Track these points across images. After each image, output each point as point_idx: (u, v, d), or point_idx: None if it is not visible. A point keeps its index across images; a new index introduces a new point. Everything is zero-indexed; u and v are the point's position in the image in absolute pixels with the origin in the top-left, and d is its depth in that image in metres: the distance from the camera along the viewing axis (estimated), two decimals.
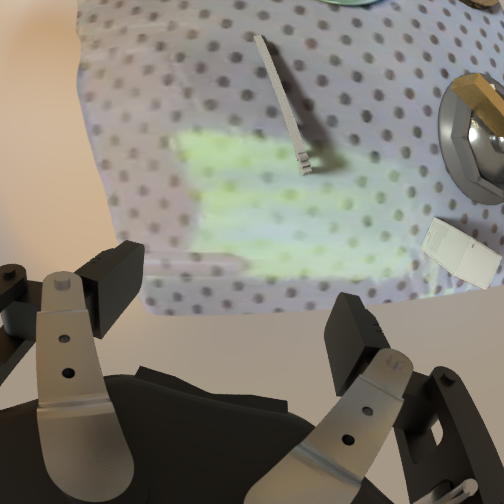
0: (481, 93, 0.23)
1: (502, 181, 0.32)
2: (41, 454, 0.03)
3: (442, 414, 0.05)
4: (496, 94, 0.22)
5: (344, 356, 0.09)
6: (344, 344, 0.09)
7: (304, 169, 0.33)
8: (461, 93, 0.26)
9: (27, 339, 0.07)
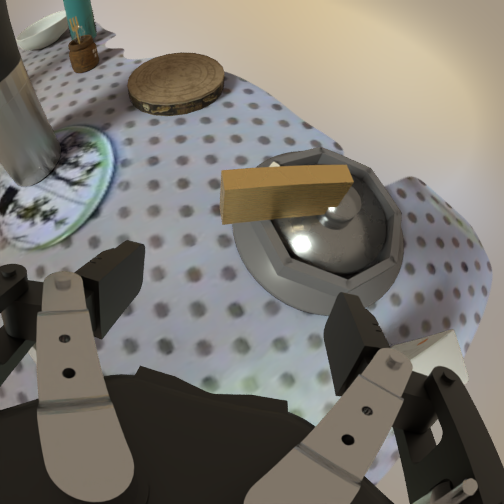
0: (246, 192, 0.24)
1: (378, 249, 0.31)
2: (41, 454, 0.03)
3: (442, 414, 0.05)
4: (265, 170, 0.24)
5: (343, 356, 0.09)
6: (343, 344, 0.09)
7: None
8: (235, 216, 0.27)
9: (28, 339, 0.07)
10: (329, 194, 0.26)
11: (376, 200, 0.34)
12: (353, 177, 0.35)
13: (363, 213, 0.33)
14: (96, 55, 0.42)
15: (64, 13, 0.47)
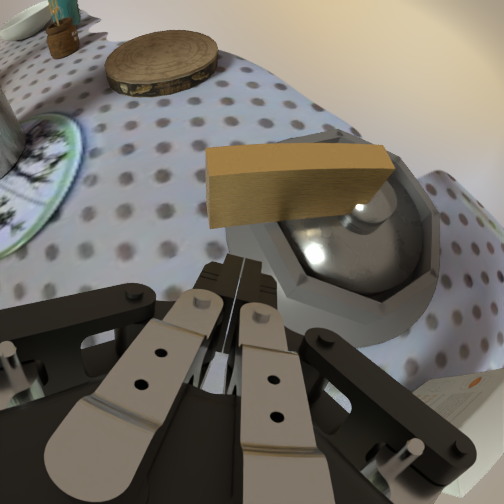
0: (242, 179, 0.15)
1: (415, 259, 0.23)
2: (41, 454, 0.03)
3: (340, 383, 0.06)
4: (272, 147, 0.16)
5: (232, 314, 0.10)
6: None
7: None
8: (228, 217, 0.19)
9: None
10: (361, 186, 0.18)
11: (408, 197, 0.26)
12: None
13: (395, 213, 0.24)
14: (76, 39, 0.34)
15: None
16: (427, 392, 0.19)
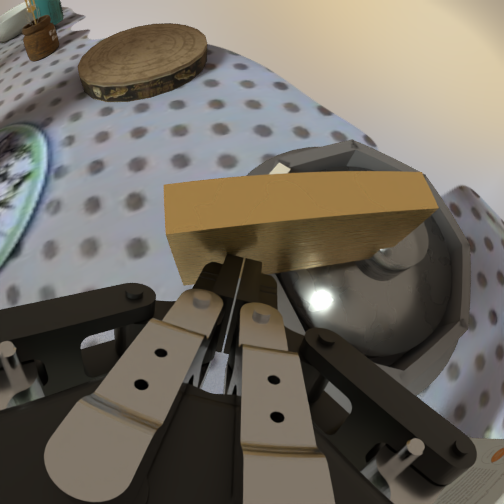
0: (219, 235, 0.10)
1: (443, 307, 0.18)
2: (41, 454, 0.03)
3: (340, 383, 0.06)
4: (265, 181, 0.11)
5: None
6: None
7: None
8: None
9: None
10: (390, 230, 0.13)
11: (436, 226, 0.20)
12: None
13: None
14: (54, 38, 0.29)
15: None
16: None
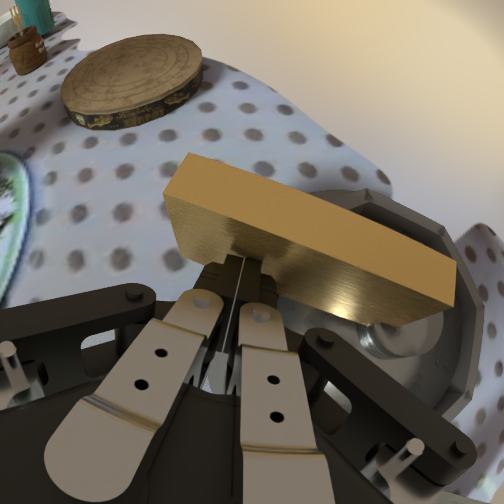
0: (209, 218, 0.10)
1: None
2: (41, 454, 0.03)
3: (340, 383, 0.06)
4: (279, 190, 0.10)
5: None
6: (234, 303, 0.10)
7: None
8: (200, 254, 0.14)
9: None
10: (393, 305, 0.11)
11: (460, 333, 0.17)
12: None
13: (431, 347, 0.16)
14: (42, 50, 0.27)
15: None
16: None
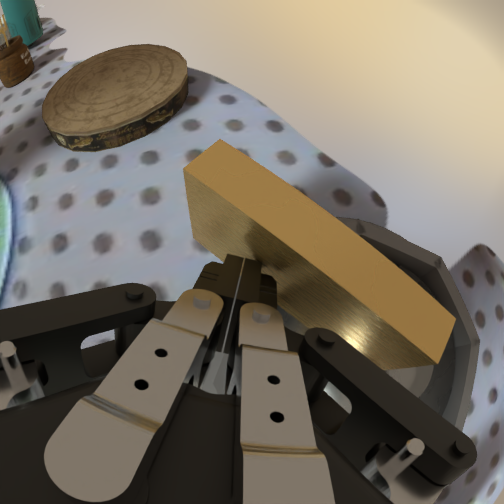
0: (219, 203, 0.10)
1: None
2: (41, 454, 0.03)
3: (340, 383, 0.06)
4: (293, 196, 0.10)
5: None
6: None
7: None
8: (209, 241, 0.14)
9: None
10: (378, 345, 0.10)
11: (446, 398, 0.15)
12: (449, 341, 0.16)
13: None
14: (27, 61, 0.26)
15: None
16: None
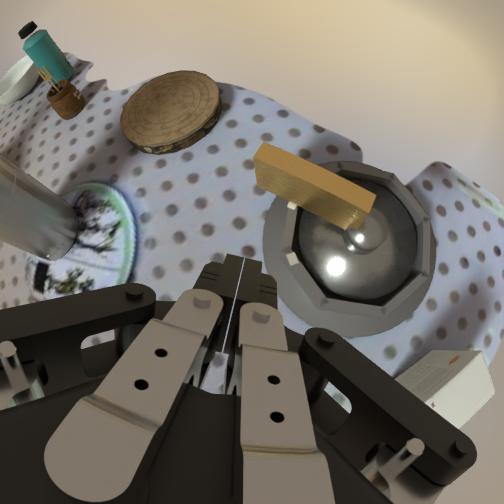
0: (270, 167, 0.26)
1: (376, 294, 0.29)
2: (41, 454, 0.03)
3: (340, 383, 0.06)
4: (297, 159, 0.26)
5: (232, 314, 0.10)
6: None
7: None
8: (266, 185, 0.30)
9: None
10: (346, 212, 0.26)
11: (413, 254, 0.30)
12: (408, 220, 0.31)
13: (390, 256, 0.30)
14: (79, 97, 0.43)
15: None
16: (425, 362, 0.27)
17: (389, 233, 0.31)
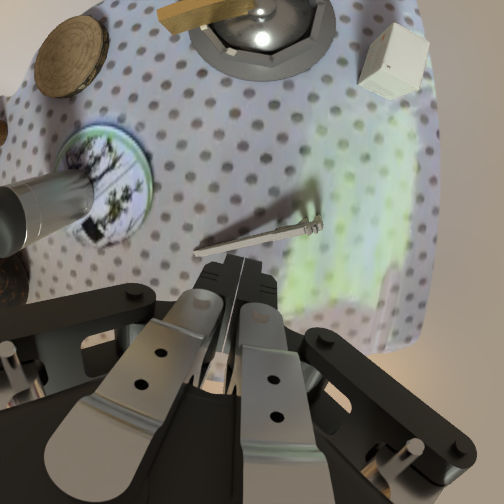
0: (173, 17, 0.26)
1: (300, 33, 0.32)
2: (41, 454, 0.03)
3: (340, 383, 0.06)
4: (185, 1, 0.25)
5: (232, 314, 0.10)
6: None
7: (319, 229, 0.39)
8: (178, 29, 0.30)
9: None
10: (239, 3, 0.26)
11: None
12: None
13: (289, 8, 0.30)
14: None
15: None
16: (370, 53, 0.32)
17: None
